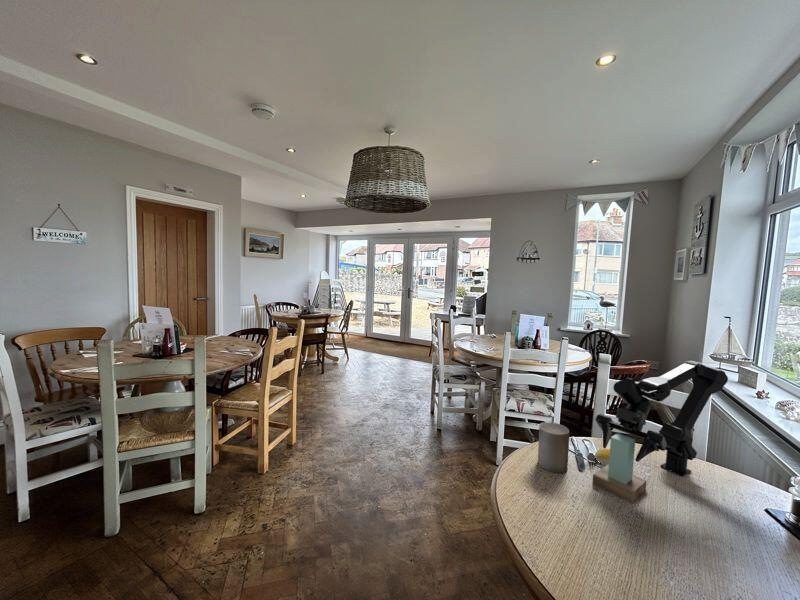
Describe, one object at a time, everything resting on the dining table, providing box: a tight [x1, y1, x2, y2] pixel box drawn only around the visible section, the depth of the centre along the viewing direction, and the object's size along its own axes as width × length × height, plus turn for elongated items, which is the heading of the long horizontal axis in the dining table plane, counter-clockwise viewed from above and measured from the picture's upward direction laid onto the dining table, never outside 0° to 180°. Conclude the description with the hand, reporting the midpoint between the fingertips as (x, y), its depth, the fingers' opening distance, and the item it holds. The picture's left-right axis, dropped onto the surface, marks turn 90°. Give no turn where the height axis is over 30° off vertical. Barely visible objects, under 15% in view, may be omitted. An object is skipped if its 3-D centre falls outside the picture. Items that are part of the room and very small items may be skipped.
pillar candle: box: [537, 421, 570, 474], centre depth 116 cm, size 10×10×15 cm
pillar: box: [608, 433, 636, 484], centre depth 105 cm, size 5×5×13 cm
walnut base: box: [592, 464, 647, 503], centre depth 106 cm, size 11×11×3 cm
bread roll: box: [594, 448, 610, 467], centre depth 121 cm, size 8×9×4 cm
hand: (619, 454), depth 104 cm, fingers open, 9 cm apart
